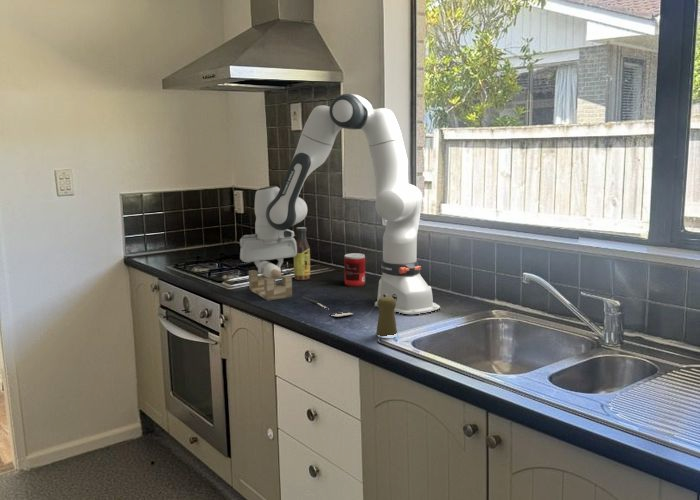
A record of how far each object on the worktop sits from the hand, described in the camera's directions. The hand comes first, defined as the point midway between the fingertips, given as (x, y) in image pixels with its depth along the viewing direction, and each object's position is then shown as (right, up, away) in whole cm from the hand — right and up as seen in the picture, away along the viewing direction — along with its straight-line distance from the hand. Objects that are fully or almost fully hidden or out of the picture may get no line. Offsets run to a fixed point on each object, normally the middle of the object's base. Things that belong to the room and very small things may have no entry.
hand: (269, 271), depth 235 cm
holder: (0, -8, +1) cm, 8 cm away
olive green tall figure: (+39, -17, -46) cm, 62 cm away
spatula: (+20, -12, -16) cm, 28 cm away
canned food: (+30, -5, +13) cm, 33 cm away
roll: (0, -2, 0) cm, 2 cm away
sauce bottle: (+10, -4, +23) cm, 25 cm away
